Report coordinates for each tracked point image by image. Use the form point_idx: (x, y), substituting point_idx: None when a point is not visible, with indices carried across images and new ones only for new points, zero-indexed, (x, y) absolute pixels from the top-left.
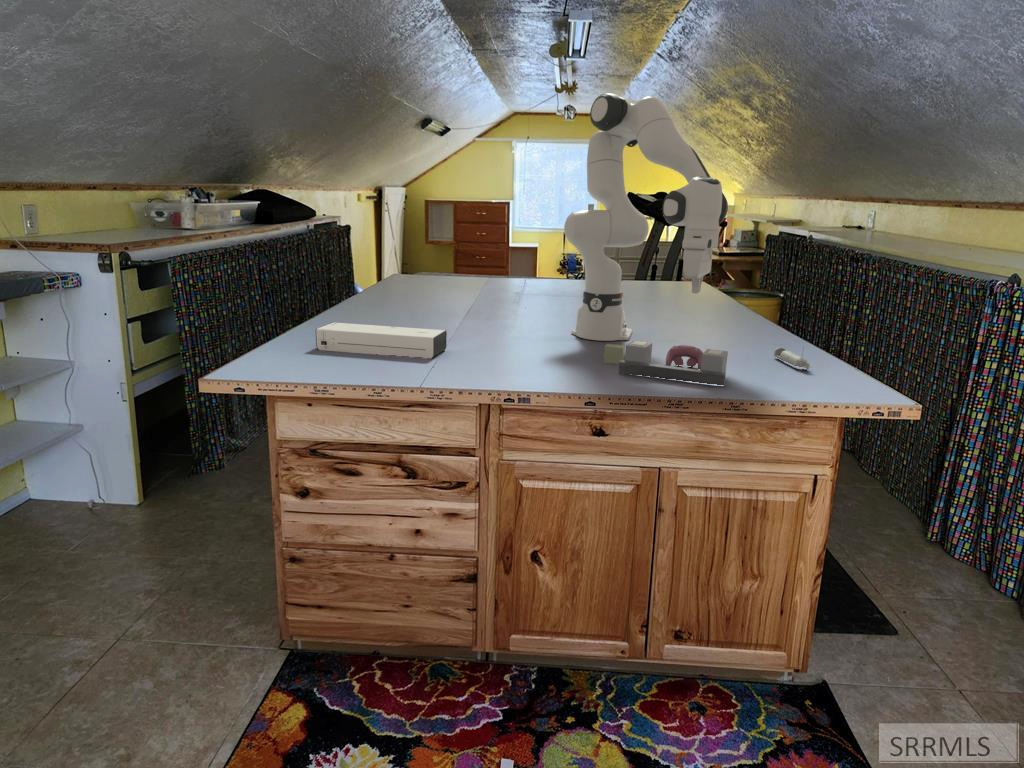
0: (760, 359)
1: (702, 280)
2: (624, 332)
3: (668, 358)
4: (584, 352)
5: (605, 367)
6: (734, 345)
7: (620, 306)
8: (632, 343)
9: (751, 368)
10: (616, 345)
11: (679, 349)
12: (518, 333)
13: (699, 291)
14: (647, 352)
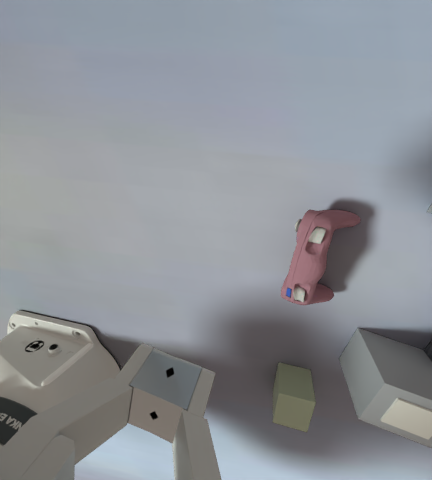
0: (154, 18)
1: (52, 410)
2: (50, 332)
3: (327, 299)
4: (222, 410)
5: (347, 401)
6: (18, 95)
7: (19, 396)
8: (420, 435)
9: (288, 56)
10: (286, 408)
11: (316, 285)
12: (120, 464)
13: (172, 359)
14: (427, 384)
